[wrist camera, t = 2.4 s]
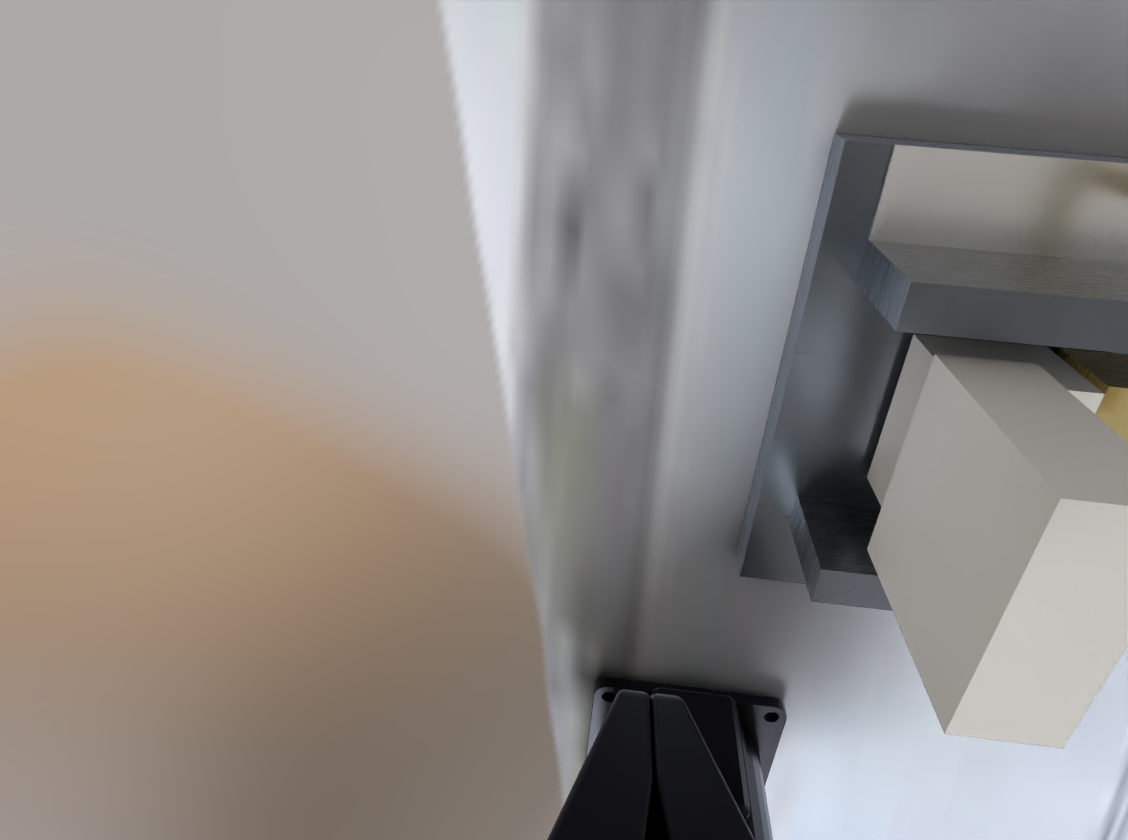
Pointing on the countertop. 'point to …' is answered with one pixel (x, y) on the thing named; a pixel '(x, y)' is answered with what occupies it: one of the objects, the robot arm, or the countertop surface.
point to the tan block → (1105, 383)
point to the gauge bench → (918, 321)
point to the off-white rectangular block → (1003, 536)
